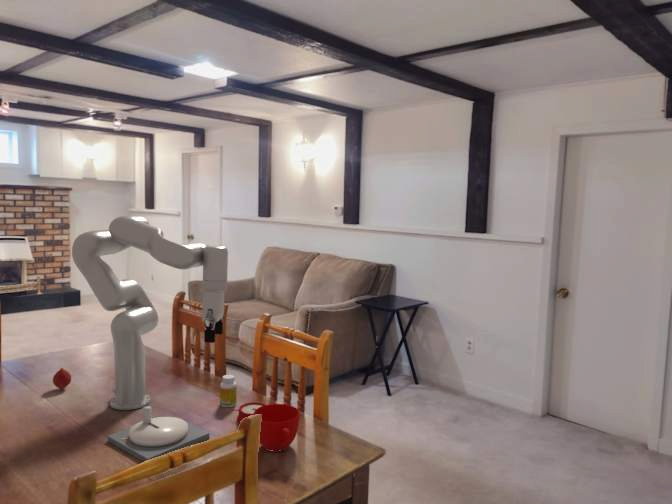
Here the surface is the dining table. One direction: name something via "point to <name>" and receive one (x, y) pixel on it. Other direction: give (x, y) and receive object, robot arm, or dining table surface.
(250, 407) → the alarm clock
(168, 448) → the base plate
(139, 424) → the turntable
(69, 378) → the onion
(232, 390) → the supplement bottle
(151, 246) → the robot arm
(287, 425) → the ceramic cup
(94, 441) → the dining table surface
